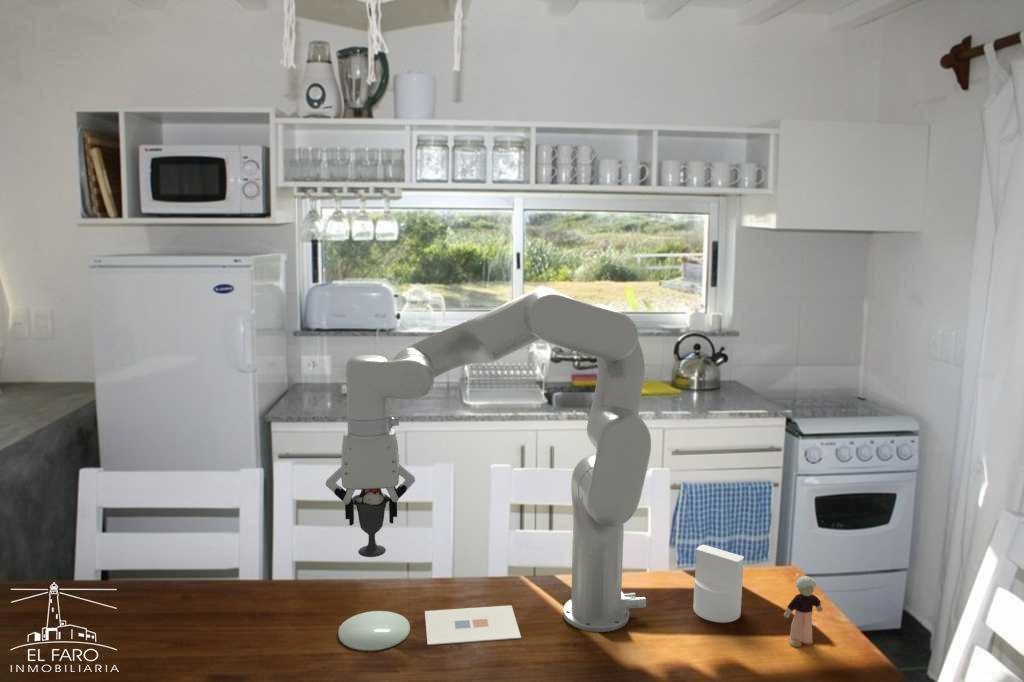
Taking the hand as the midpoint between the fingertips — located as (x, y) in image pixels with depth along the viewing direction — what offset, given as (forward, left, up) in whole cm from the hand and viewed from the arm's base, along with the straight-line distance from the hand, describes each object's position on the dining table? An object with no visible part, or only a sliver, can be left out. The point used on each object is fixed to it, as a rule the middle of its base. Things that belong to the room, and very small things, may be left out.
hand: (371, 520), depth 147 cm
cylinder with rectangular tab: (-66, +1, -22) cm, 70 cm away
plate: (0, 0, -22) cm, 22 cm away
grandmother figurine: (-77, +14, -22) cm, 81 cm away
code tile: (-18, 0, -22) cm, 28 cm away
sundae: (0, 0, -6) cm, 6 cm away
